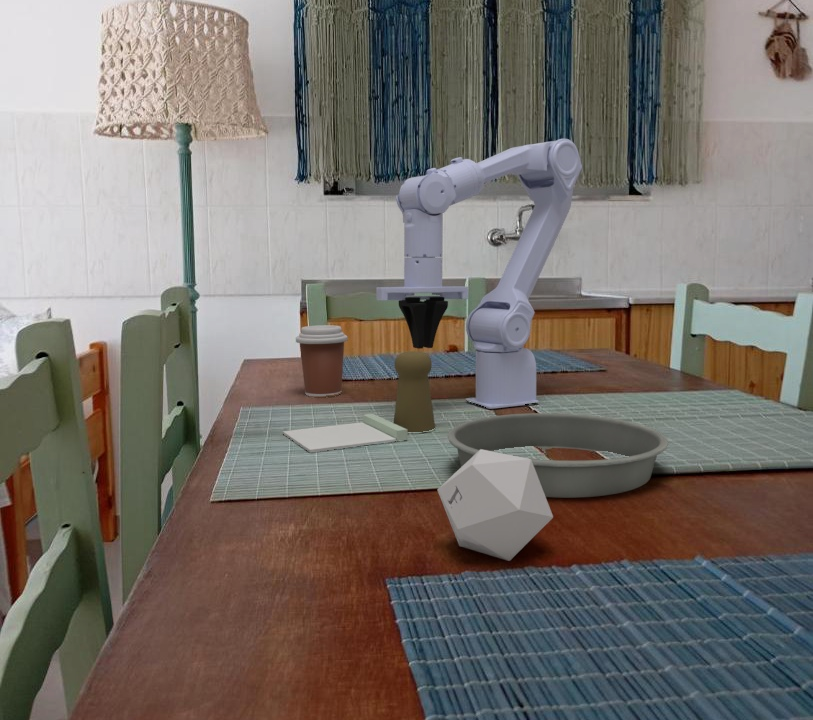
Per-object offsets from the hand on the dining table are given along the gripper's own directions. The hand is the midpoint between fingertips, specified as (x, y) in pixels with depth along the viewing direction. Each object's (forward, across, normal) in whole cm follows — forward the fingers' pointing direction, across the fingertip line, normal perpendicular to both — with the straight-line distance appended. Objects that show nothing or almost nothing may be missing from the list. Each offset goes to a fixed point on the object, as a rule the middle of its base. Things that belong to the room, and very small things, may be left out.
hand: (422, 347), depth 124 cm
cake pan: (+11, 0, +35) cm, 37 cm away
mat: (+11, +17, +8) cm, 21 cm away
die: (+11, +19, +53) cm, 57 cm away
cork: (+11, +5, +8) cm, 14 cm away
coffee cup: (+11, +7, -25) cm, 28 cm away
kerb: (+11, +10, +8) cm, 17 cm away
